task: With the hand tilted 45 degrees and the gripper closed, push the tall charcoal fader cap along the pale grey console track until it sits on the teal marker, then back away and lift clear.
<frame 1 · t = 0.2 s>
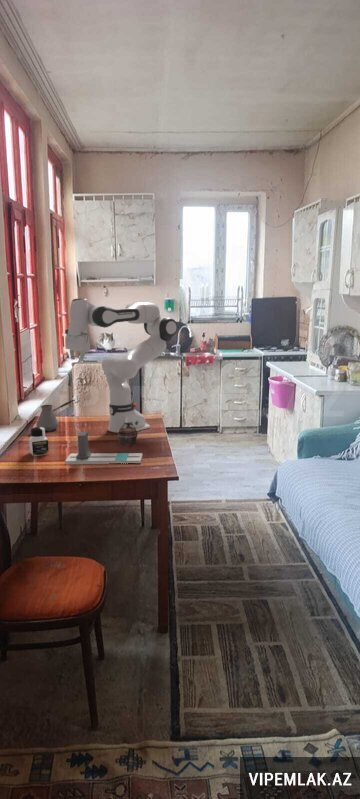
hand: (76, 360, 242), 39 cm above the table, tool pointing down, fingers open, 8 cm apart
cupcake: (128, 443, 239), on the table
coffee pot: (57, 428, 268), on the table
medicine bottle: (39, 453, 225), on the table
fader cap: (83, 444, 213), point 7 cm above the table, slide at 0.0 cm
console track: (104, 460, 215), on the table
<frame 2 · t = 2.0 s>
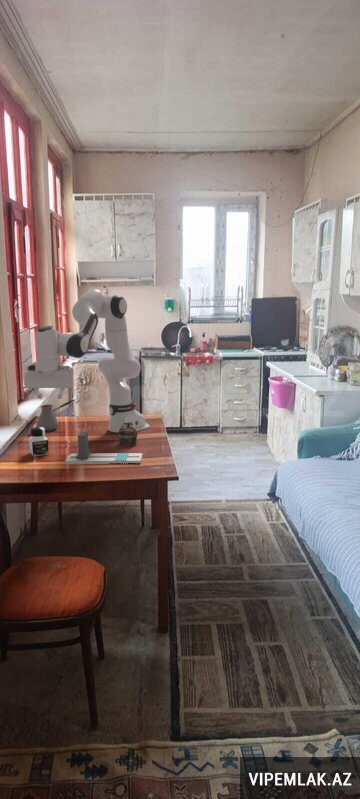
hand: (50, 398, 209), 28 cm above the table, tool pointing down, fingers open, 7 cm apart
nothing on the table moved.
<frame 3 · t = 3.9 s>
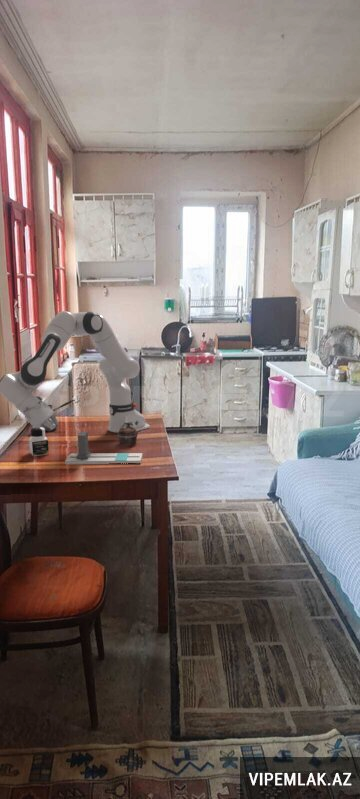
hand: (54, 427, 212), 15 cm above the table, tool tilted 45°, fingers closed
nothing on the table moved.
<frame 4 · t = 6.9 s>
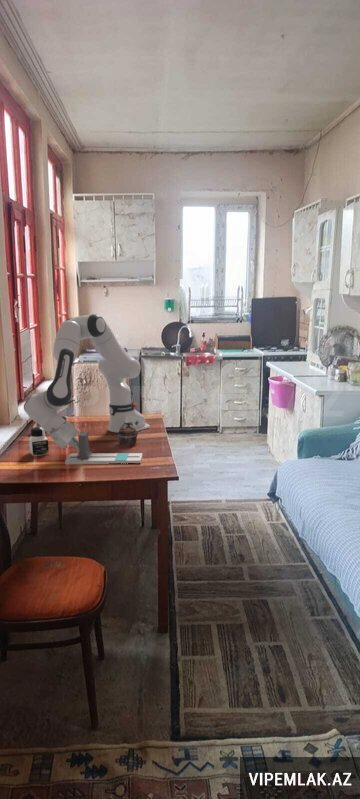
hand: (79, 447, 214), 6 cm above the table, tool tilted 45°, fingers closed, pressing on fader cap
fader cap: (83, 444, 213), point 7 cm above the table, slide at 0.3 cm, touching gripper
everything else where it was.
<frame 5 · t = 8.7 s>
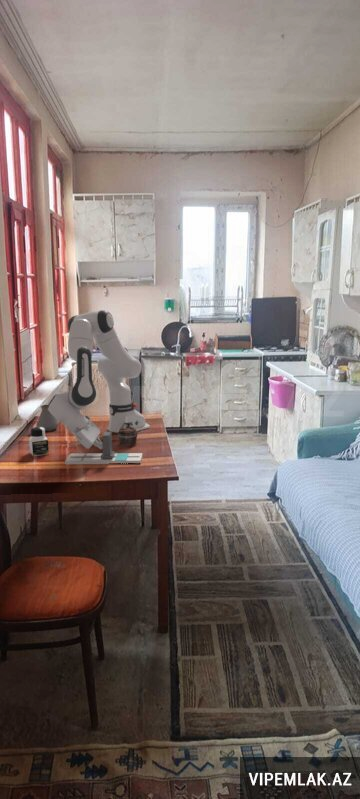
hand: (102, 447, 213), 6 cm above the table, tool tilted 45°, fingers closed, pressing on fader cap
fader cap: (107, 444, 213), point 7 cm above the table, slide at 10.5 cm, touching gripper
everything else where it was.
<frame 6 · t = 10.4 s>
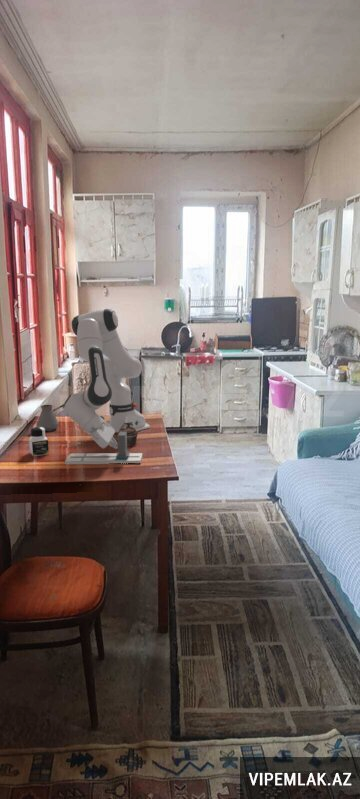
hand: (117, 447, 213), 6 cm above the table, tool tilted 45°, fingers closed, pressing on fader cap
fader cap: (122, 444, 213), point 7 cm above the table, slide at 17.0 cm, touching gripper
everything else where it was.
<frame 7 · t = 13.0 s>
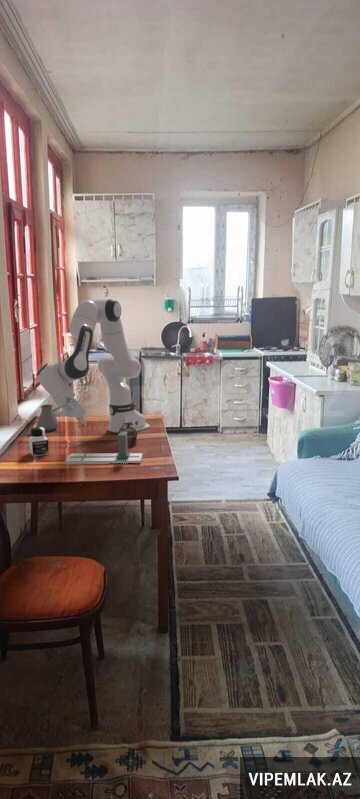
hand: (84, 423, 215), 16 cm above the table, tool tilted 35°, fingers closed
fader cap: (123, 444, 213), point 7 cm above the table, slide at 17.2 cm
everything else where it was.
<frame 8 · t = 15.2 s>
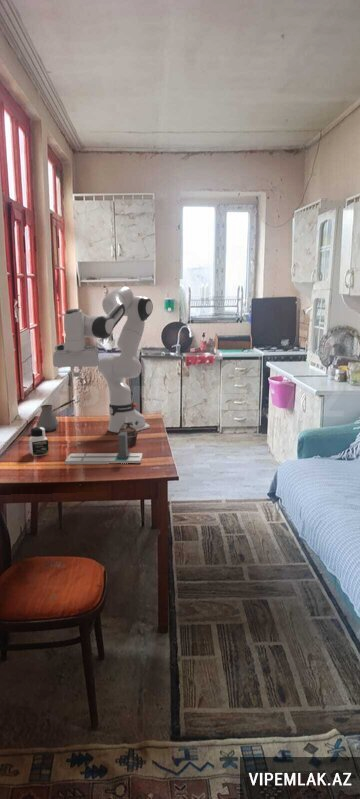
hand: (76, 376, 224), 34 cm above the table, tool pointing down, fingers closed
nothing on the table moved.
at the end: fader cap slide at 17.2 cm; medicine bottle moved 0.2 cm from its start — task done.
